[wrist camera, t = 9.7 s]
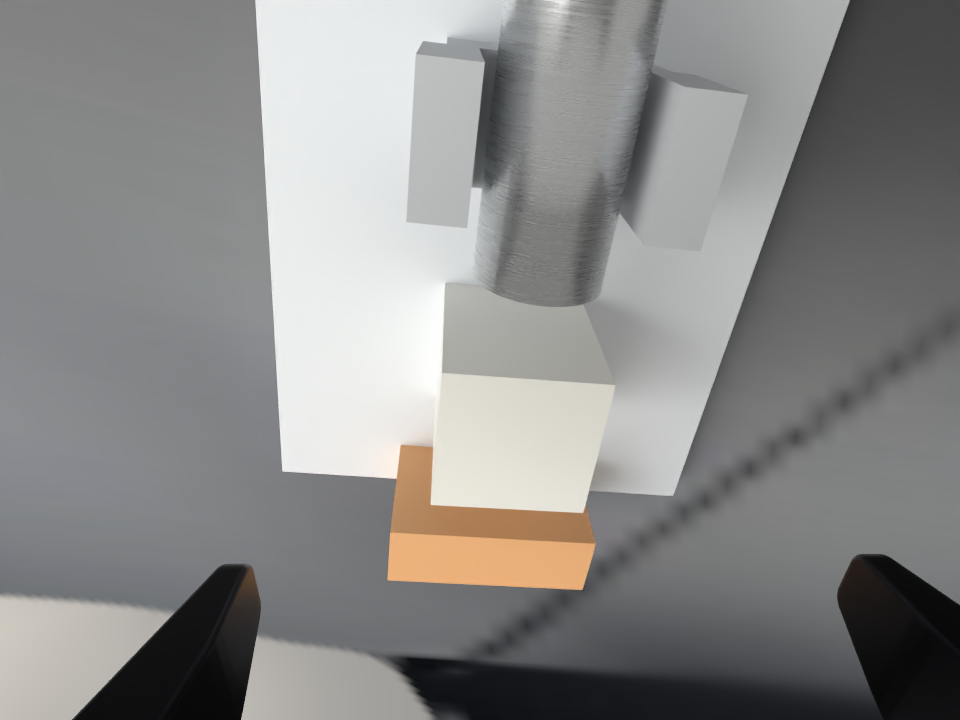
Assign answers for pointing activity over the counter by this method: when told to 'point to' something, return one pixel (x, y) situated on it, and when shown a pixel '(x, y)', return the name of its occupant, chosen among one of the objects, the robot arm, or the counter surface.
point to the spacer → (516, 404)
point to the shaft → (561, 144)
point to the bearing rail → (452, 237)
